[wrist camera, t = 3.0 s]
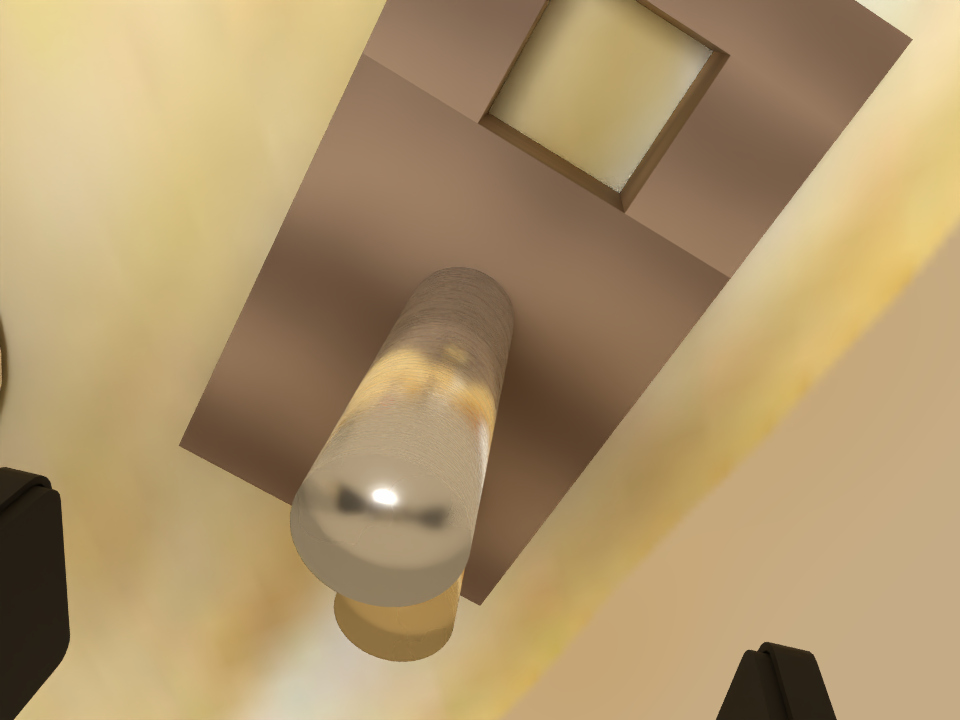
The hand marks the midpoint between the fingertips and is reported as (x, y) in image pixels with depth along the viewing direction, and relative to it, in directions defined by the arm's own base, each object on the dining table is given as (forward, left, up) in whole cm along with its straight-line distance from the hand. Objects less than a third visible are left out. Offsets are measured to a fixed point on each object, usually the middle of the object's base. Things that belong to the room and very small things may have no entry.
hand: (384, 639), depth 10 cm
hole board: (+1, +1, -15) cm, 15 cm away
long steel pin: (-1, 0, -12) cm, 12 cm away
